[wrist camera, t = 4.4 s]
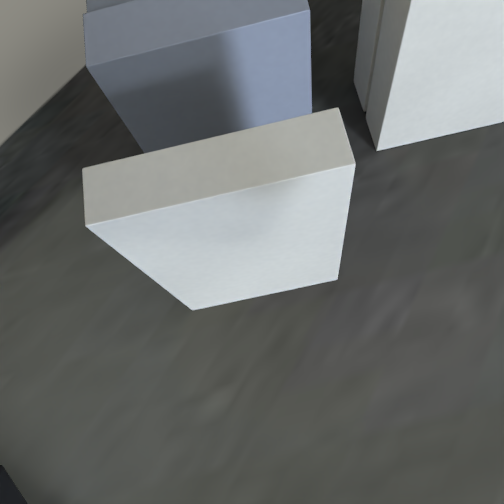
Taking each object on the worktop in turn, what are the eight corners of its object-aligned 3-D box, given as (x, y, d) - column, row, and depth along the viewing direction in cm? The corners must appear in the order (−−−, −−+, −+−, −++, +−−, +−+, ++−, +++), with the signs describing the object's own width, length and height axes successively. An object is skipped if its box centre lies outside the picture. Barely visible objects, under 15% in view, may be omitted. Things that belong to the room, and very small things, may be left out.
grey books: (312, 157, 33) (310, 0, 20) (169, 190, 34) (80, 59, 21) (281, 39, 37) (263, -153, 24) (153, 71, 38) (71, -99, 25)
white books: (516, 119, 32) (674, -111, 18) (376, 151, 32) (421, -46, 18) (483, 49, 34) (600, -204, 20) (353, 80, 35) (377, -142, 21)
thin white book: (337, 279, 30) (356, 163, 16) (192, 310, 30) (84, 226, 16) (328, 245, 30) (338, 106, 16) (187, 276, 31) (81, 167, 17)
